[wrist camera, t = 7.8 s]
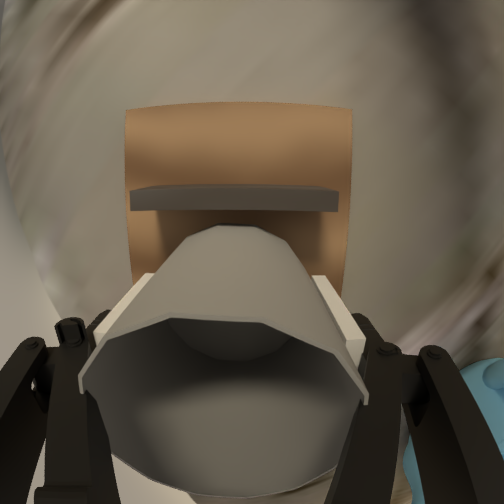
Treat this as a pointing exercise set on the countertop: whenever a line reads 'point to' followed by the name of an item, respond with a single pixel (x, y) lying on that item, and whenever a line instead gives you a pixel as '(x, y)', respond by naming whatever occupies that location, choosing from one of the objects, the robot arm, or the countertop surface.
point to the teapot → (490, 403)
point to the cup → (226, 371)
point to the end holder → (239, 178)
